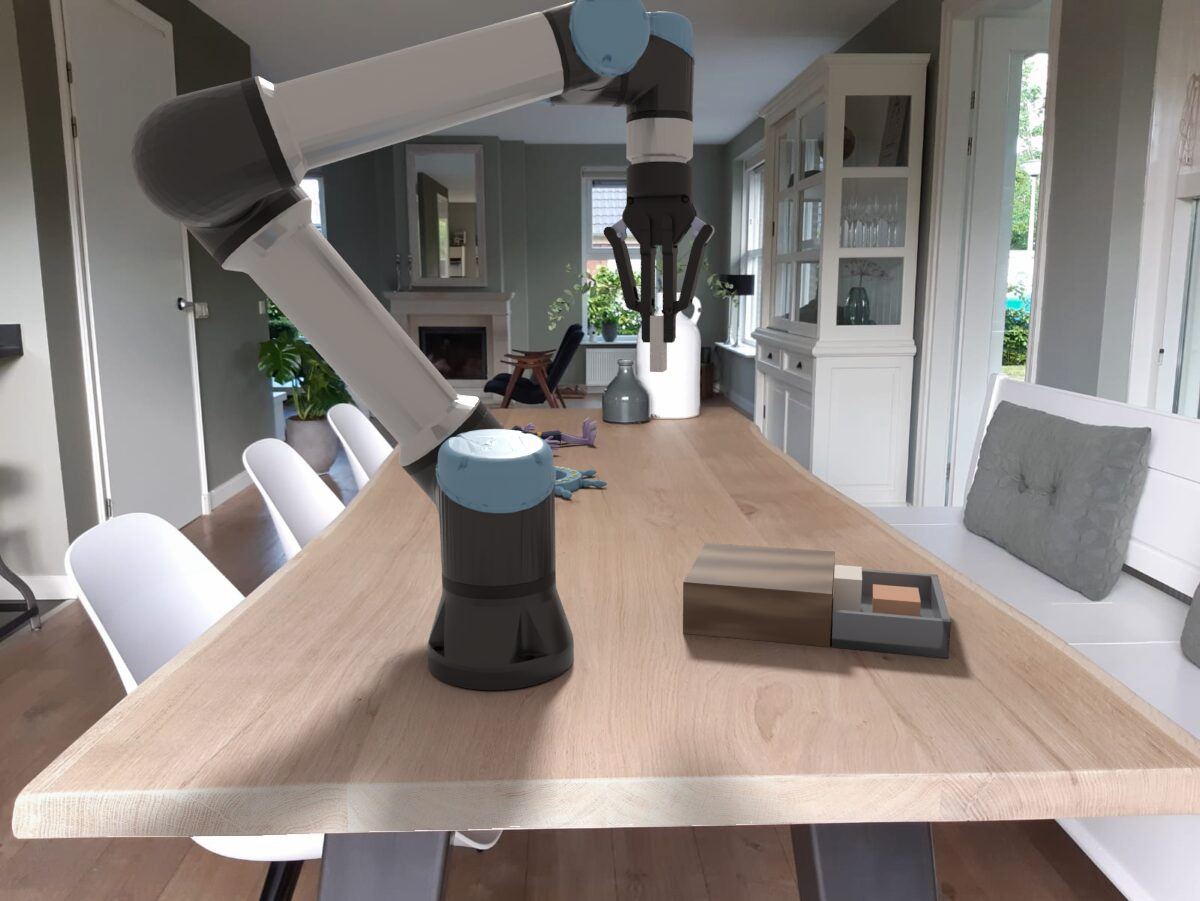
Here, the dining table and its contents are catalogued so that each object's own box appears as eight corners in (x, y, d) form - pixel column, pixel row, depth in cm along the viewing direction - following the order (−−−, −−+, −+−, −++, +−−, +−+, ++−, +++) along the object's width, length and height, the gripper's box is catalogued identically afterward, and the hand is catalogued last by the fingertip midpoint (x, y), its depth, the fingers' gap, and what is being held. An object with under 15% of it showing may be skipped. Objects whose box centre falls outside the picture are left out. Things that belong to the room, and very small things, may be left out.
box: (948, 658, 95) (950, 621, 95) (831, 647, 98) (833, 611, 98) (935, 606, 111) (937, 574, 110) (834, 598, 114) (835, 567, 113)
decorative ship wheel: (483, 454, 195) (621, 458, 189) (483, 468, 196) (621, 473, 189) (428, 484, 166) (589, 491, 160) (429, 501, 167) (589, 509, 161)
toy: (609, 425, 211) (480, 417, 201) (605, 465, 212) (476, 459, 203) (577, 410, 235) (461, 403, 226) (574, 446, 237) (458, 440, 227)
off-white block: (832, 620, 104) (860, 622, 103) (834, 577, 103) (862, 580, 102) (833, 605, 108) (859, 607, 107) (835, 564, 107) (861, 566, 107)
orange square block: (873, 598, 102) (871, 624, 102) (920, 602, 100) (919, 628, 101) (872, 584, 107) (871, 608, 107) (918, 587, 105) (916, 612, 106)
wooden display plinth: (829, 647, 99) (831, 593, 97) (682, 633, 103) (683, 581, 102) (833, 598, 114) (835, 551, 113) (704, 587, 118) (705, 542, 117)
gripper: (721, 164, 106) (717, 369, 110) (612, 169, 109) (612, 367, 114) (711, 156, 99) (708, 375, 103) (595, 161, 102) (596, 372, 106)
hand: (658, 370), depth 108 cm, fingers closed
